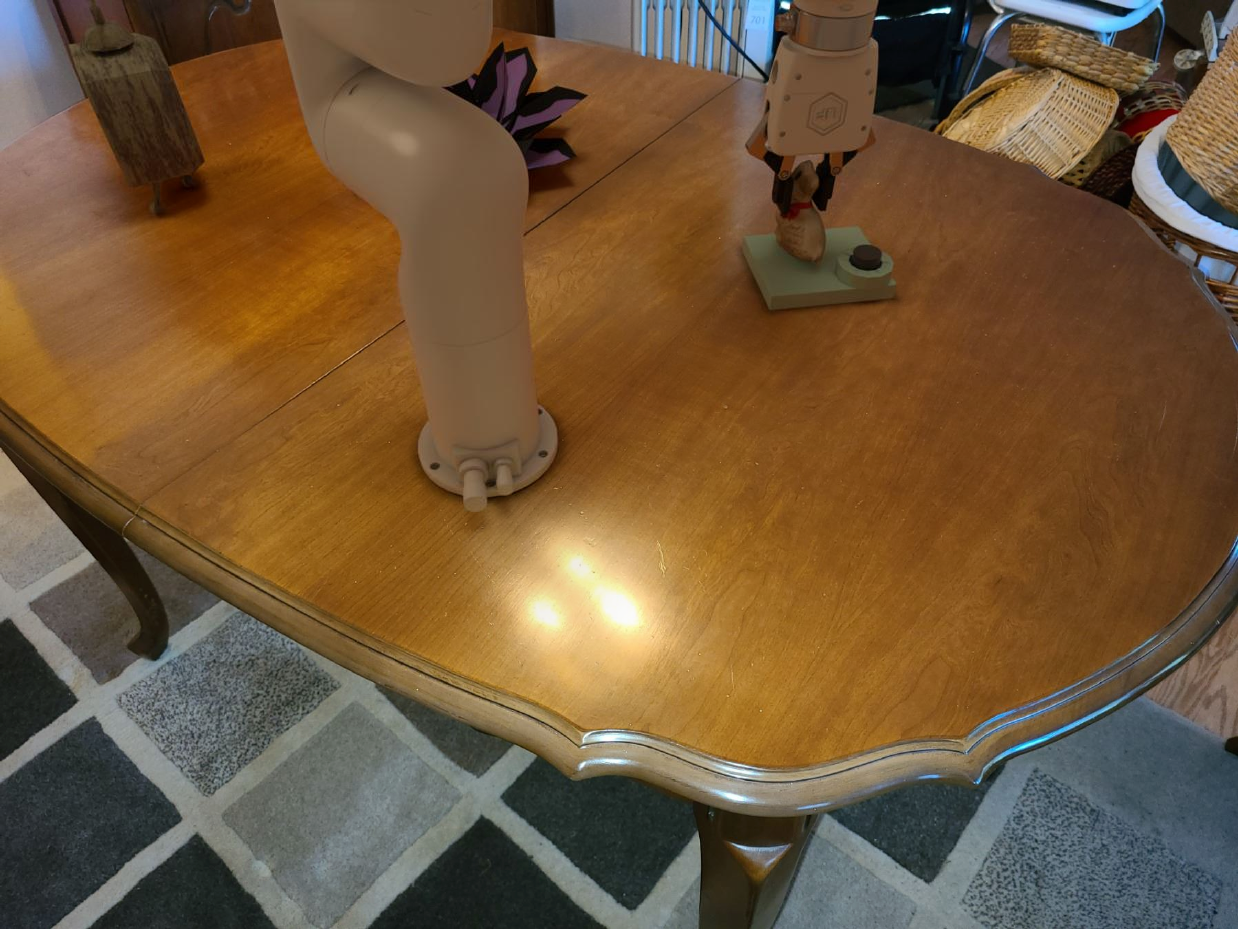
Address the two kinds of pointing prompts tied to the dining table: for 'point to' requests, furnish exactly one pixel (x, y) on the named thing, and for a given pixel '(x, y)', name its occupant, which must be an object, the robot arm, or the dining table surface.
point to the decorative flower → (520, 104)
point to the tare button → (866, 257)
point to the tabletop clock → (137, 105)
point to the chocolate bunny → (802, 218)
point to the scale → (817, 272)
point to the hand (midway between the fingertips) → (800, 204)
